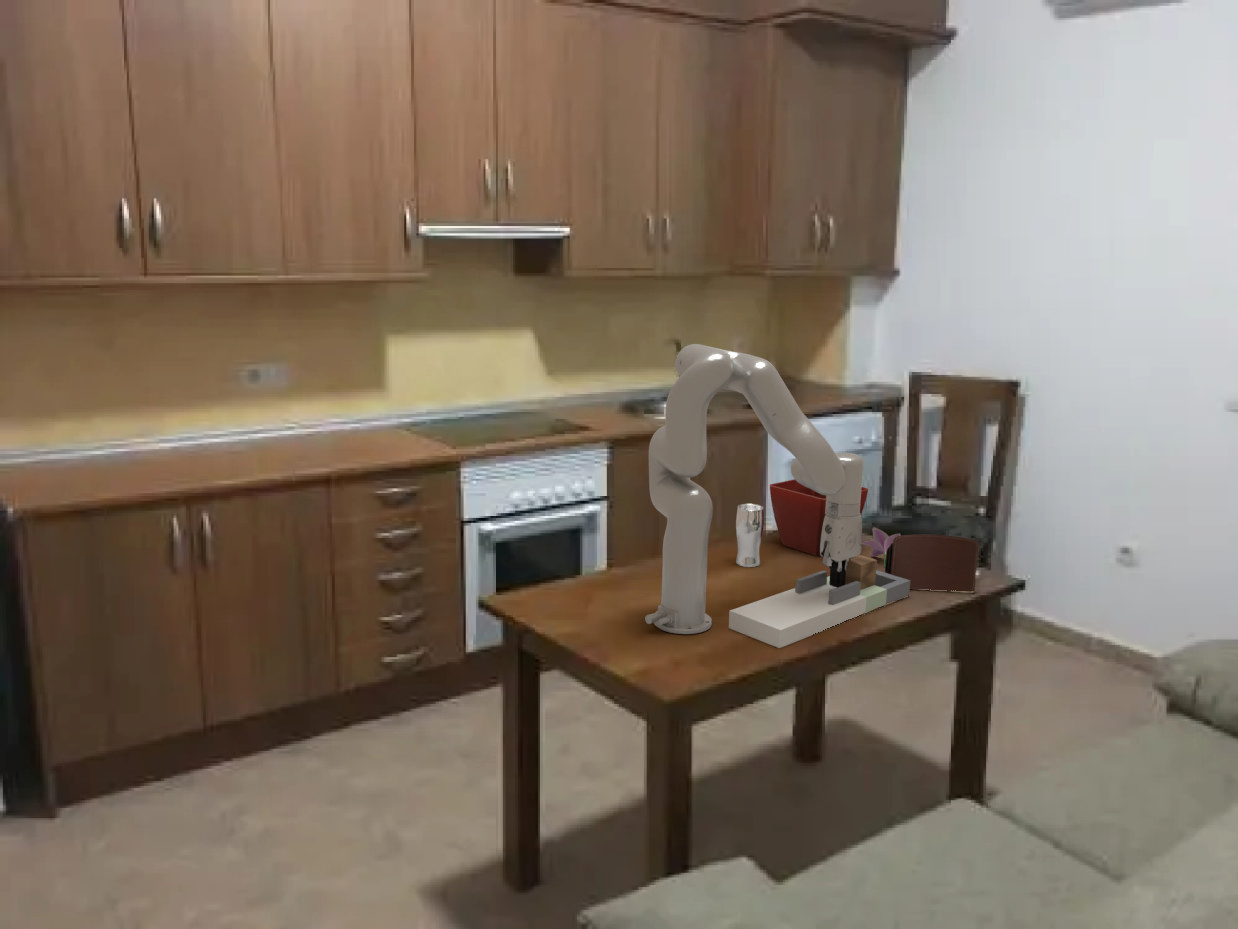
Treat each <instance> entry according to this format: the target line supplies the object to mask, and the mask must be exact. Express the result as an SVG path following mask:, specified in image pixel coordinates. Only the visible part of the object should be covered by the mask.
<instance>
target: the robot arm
mask: <svg viewBox="0 0 1238 929" xmlns="http://www.w3.org/2000/svg"><path fill="white" fill-rule="evenodd" d="M675 358H676V359H675V363H674V364H675V370H676V373H677V375H678V376H679V377H678V378H677V380H676V381H675V382H674V384H673V386H672V387H671V388H670V390H669V392H668V396H667V400H666V403H665V420H664V421H665V422H664V424H665V425H663V426H660V427H659V428H657V430H656V431H655V432H654V433H653V435H652V436H651V439H650V442H649V447H648V478H649V479H648V483H649V484H648V485H649V486H648V487H649V495H650V501H651V503H652V505H653V506H654V508H655V509H656V511H658V512H659V513H660V514H662V515H663V516H664V517H665V518H666V519H667V522H666V527H665V531H664V536H663V543H662V571H661V572H662V573H661V576H662V577H661V578H662V579H661V601H660V602H661V603H660V604H659V605H657V610H656V611H655V613H650V614H646V615H645V617H644V619H645V620H644V621H645V622H646V624H648V625H651V624H654V626H656V627H657V628H658V629H660V631H663V632H666V633H671V634H679V635H693V634H701V633H703V632H706V631H707V630H709V629H710V628H711V627H712V626H713V624H712V623H713V620H712V617H711V616H710V615H709V614H707V613H706V595H707V572H708V571H707V570H708V545H709V544H708V543H709V535H710V534H709V533H710V528H711V524H712V519H713V512H714V508H713V507H714V506H713V501H712V499H711V496H710V495H709V493H708V492H707V490H706V489H705V488H703V487H702V486H701V485H699V484H698V483H696V482H695V481H693V480H691V478H694V477H696V476H698V475H700V474H701V473H702V472H703V470H704V469H705V467H706V465H707V459H708V458H707V457H708V448H707V447H708V446H707V443H708V442H707V417H708V416H707V415H708V407H709V404H710V402H711V401H712V399H713V397H714V396H715V395H716V394H717V393H718V392H720V391H721V390H722V389H723V390H727V391H728V390H729V391H735V392H736V393H739V394H742V395H743V396H744V397H745V399H746V400H747V402H748V404H749V405H750V407H751V409H752V410H753V411H754V413H755V415H756V416H757V418H758V419H759V422H760V423H761V424H762V426H763V428H764V430H765V431H766V432H767V433H768V435H769V436H770V437H771V438H772V439H773V440H775V441H776V442H777V443H778V444H780V445H781V446H782V447H783V448H785V450H787V451H788V452H789V453H791V454H792V456H793V457H794V459H793V460H792V463H791V465H790V473H791V476H792V478H793V480H794V479H795V480H796V481H797V482H798V483H800V484H801V485H803V486H805V487H807V488H810V489H812V490H814V491H816V492H818V493H819V494H822V495H826V509H825V514H826V515H825V518H824V522H823V527H822V534H821V542H820V555H819V556H820V557H821V558H823V559H822V565H823V566H825V567H828V570H829V576H830V581H829V584H830V586H833V587H837V588H838V587H841V586H844V585H845V580H846V570H847V569H848V564H849V561H850V560H851V559H852V558H854V557H855V556H857V555H861V552H862V547H863V546H862V545H863V544H862V542H863V525H862V524H863V523H862V522H863V521H862V520H863V519H862V514H860V501H861V488H862V487H863V473H864V460H863V458H862V457H861V455H858V454H856V453H851V452H835V451H834V449H833V448H832V446H831V444H830V443H829V442H828V440H826V438H825V437H824V436H823V435H822V433H821V432H820V431H819V430H818V429H817V428H816V427H815V425H814V424H813V423H812V422H811V420H810V419H809V418H808V417H807V416H806V414H804V413H803V411H802V410H801V408H800V406H799V405H798V404H797V402H796V400H795V398H794V397H793V395H792V393H791V391H790V390H789V389H788V387H787V385H786V383H785V382H784V380H783V378H782V377H781V375H780V374H779V371H778V370H777V368H776V367H775V366H774V365H773V364H772V363H771V362H770V361H769V360H767V359H765V358H764V357H763V358H762V357H760V356H755V355H752V354H749V353H744V352H739V351H738V352H737V351H734V350H733V351H732V350H727V349H724V348H723V349H721V348H718V347H713V346H708V345H704V344H700V343H692V344H688V345H686V346H684V347H682V349H680V350H679V352H678V353H677V356H676V357H675Z"/></svg>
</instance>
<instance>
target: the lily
mask: <svg viewBox="0 0 1238 929" xmlns="http://www.w3.org/2000/svg"><path fill="white" fill-rule="evenodd" d="M897 536H901V533H895V534H892V535H888V534H887V533H886V532H884V531H883V530H881V529H880V528H878V527H872V537H873V540H866V541H865V540H864V541H862V545H865V546H868V547H870V548H871V552H870V556H871V557H873V558H874V557H878V556H881V555H883V556H884V557H883V568H884V567H885V564H886V552H887V549H888V547H890V545H891V543H893V540H894V538H895V537H897Z"/></svg>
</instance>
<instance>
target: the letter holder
mask: <svg viewBox="0 0 1238 929" xmlns="http://www.w3.org/2000/svg"><path fill="white" fill-rule="evenodd" d="M979 549H980V548H979V542H978V540H976V539H971V538H967V537H961V536H954V535H948V534H946V535H944V534H931V533H930V534H929V533H928V534H925V533H921V534H904V535H901V536H897V537H895V538H894V540H893V543H891V545H890V547H888V549H887V552H886V556H885V568H884V573H888V574H891V575H894V576H897V577H901V578H904V579H907V580H910V589H929V590H930V589H931V590H947V591H951V590H952V591H953V590H954V591H955V590H956V591H974V592H975V590H976V589H975V587H976V577H977V565H978V557H979Z"/></svg>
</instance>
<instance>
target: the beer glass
mask: <svg viewBox="0 0 1238 929" xmlns="http://www.w3.org/2000/svg"><path fill="white" fill-rule="evenodd" d="M764 510H765V507H764V506H762V505H761V504H757V503H742V504H738V505H737V511H736V520H735V530H736V532H735V533H736V538H737V539H736V540H737V555H736V559H735V564H736V565H737V564H738V566H740V567H743V568H757V567H758V566H760V564H761V561H760V547H761V541H762V537H763V533H764V525H765V522H764V521H765V514H764V512H765V511H764ZM756 566H757V567H756Z"/></svg>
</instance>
